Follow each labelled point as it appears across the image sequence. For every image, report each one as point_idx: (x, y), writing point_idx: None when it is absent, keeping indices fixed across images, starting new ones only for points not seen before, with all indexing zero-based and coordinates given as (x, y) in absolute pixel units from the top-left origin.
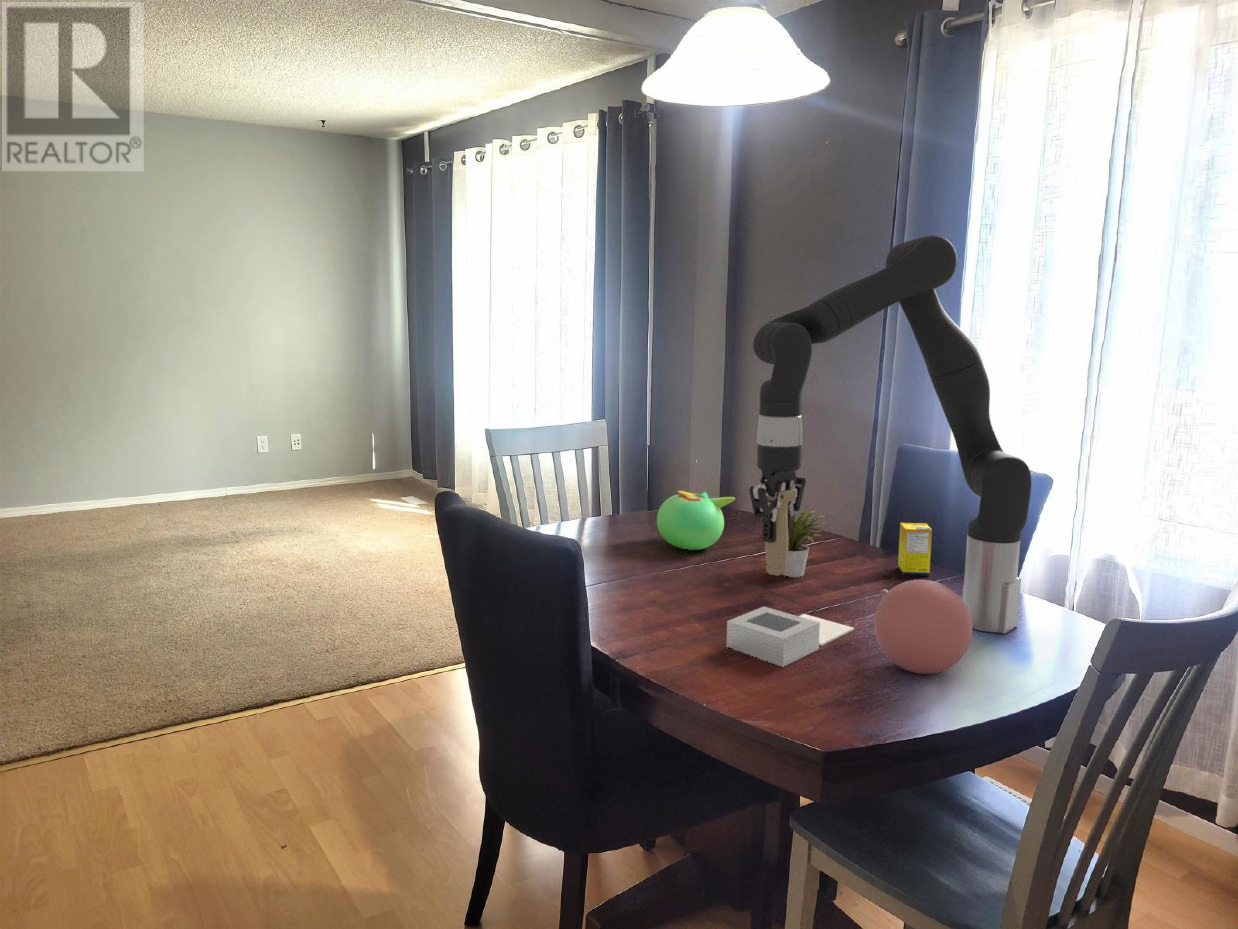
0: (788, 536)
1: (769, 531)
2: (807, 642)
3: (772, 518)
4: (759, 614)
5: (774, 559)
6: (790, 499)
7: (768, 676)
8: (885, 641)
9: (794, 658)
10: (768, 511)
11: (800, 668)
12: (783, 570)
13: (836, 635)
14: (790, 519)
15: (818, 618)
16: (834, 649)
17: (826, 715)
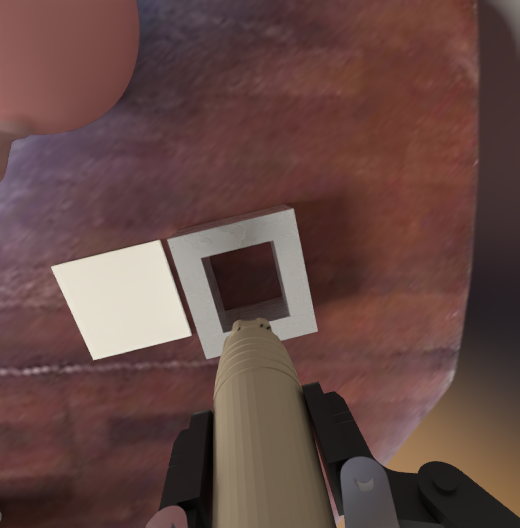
0: (206, 410)
1: (351, 421)
2: (212, 224)
3: (382, 474)
4: None
5: (283, 346)
6: None
7: (329, 188)
8: (138, 33)
9: (252, 212)
10: (467, 522)
11: (262, 184)
12: (244, 323)
13: (108, 255)
14: (184, 487)
15: (83, 332)
16: (151, 216)
17: (365, 8)
